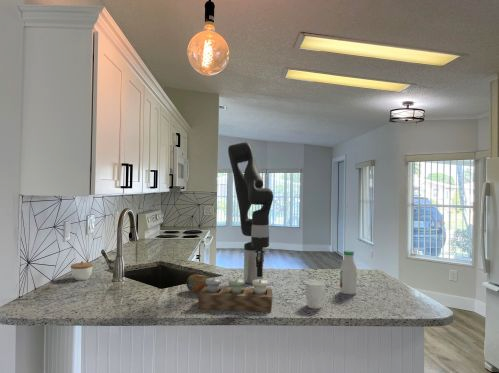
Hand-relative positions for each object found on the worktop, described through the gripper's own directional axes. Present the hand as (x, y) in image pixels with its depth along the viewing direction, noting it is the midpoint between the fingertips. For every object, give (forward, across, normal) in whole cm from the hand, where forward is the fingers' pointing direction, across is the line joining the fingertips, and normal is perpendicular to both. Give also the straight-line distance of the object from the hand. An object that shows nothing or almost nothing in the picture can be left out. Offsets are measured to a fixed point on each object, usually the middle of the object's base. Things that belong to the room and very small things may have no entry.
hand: (259, 276), depth 154 cm
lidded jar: (+13, -32, -98) cm, 104 cm away
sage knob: (+7, 0, -10) cm, 12 cm away
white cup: (+13, -4, +23) cm, 27 cm away
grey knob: (+7, 0, -20) cm, 21 cm away
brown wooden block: (+13, 0, -10) cm, 16 cm away
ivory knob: (+7, 0, 0) cm, 7 cm away
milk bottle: (+13, -26, +41) cm, 50 cm away
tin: (+13, -16, -29) cm, 36 cm away
